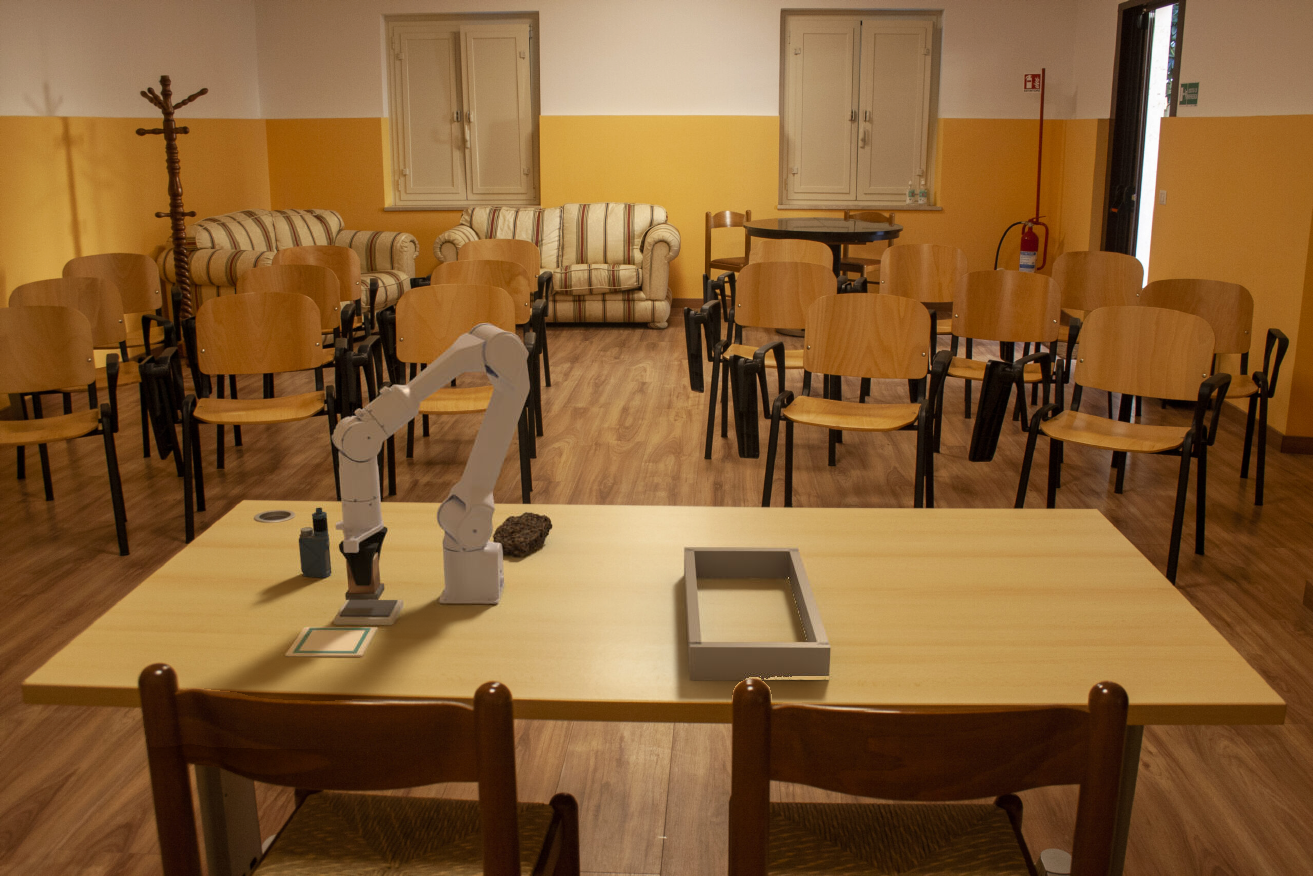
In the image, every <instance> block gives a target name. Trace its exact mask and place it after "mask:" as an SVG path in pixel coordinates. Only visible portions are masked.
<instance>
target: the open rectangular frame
mask: <svg viewBox="0 0 1313 876" xmlns="http://www.w3.org/2000/svg"><path fill="white" fill-rule="evenodd" d="M683 552H684V553H683V557H684V559H683V563H684V564H683V578H684V579H683V581H684V599H685V618H686V619H685V621H686V635H687V636H686V637H687V638H686V639H687V655H688V657H687V658H688V673H689V675H688V677H689V681H743V680H742V679H746V678H749V677H759V678H761V679H763V680H762V681H765V680H764V678H766V679H768V678H770V677H775V676H777V677H782V676H783V677H789V676H790V677H792V676H829V677H830V668H831V667H830V665H831V649H832V648H831V645H830V642H829V638H828V636H827V633H826V630H825V626H824V624H823V620H822V617H821V615H820V612H819V608H818V604H817V602H816V599H815V596H814V593H813V590H812V587H811V583H810V580H809V578H808V575H807V571H806V568H805V565H804V562H803V559H802V557H801V553H800V550H799V547H750V546H749V547H741V546H740V547H738V546H737V547H734V546H733V547H726V546H725V547H718V546H717V547H716V546H715V547H712V546H711V547H709V546H705V547H703V546H701V547H697V546H696V547H695V546H693V547H692V546H688V547H686V546H685V547H684V550H683ZM788 577H789V579H788V582H789V581H790V583H789V585H790V584H791V586H790V589H791V588H792V590H791V592H792V591H793V593H792V595H793V594H794V597H793V599H794V598H795V600H794V602H795V601H796V604H795V606H796V605H797V607H796V609H797V608H798V611H799V614H798V616H799V615H800V618H801V621H800V623H801V622H802V625H803V628H804V631H805V635H806V639H807V642H806V641H795V642H794V641H702V636H701V634H702V633H701V623H700V622H701V621H700V608H699V596H698V595H699V594H698V581H697V579H723V580H724V579H734V580H735V579H737V580H738V579H744V578H746V580H747V579H748V578H788ZM744 580H745V579H744ZM798 611H797V612H798ZM800 618H799V619H800ZM802 625H801V626H802ZM803 628H802V629H803ZM805 635H804V636H805ZM806 639H805V640H806ZM760 676H761V677H760Z"/></svg>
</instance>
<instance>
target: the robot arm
mask: <svg viewBox="0 0 1313 876" xmlns="http://www.w3.org/2000/svg"><path fill="white" fill-rule="evenodd" d="M529 354H530V352H529V351H528V349H527V348H526V345H525V344H524V343H523V341H522V339H521V338H520V337H519V336H518V335H517V334H515V333H514V332H512V331H507V330H504V329H502V328H499V327H498V326H495V325H494V324H492V323H489V322H483V323H478V324H476V325H475V326H473V327H472V328H471V329H470V330H469V331H468V332H465V333H463V334H461V335H460V336H458V338H457V339H456V340H455V341H454V343H452V344H451V346H450V347H448V348H447V349H446V350H445V351H444V352H443V353H442V354H440V355H439V356H438V357H437V358H436V359H434V360H433V361H432V362H431V363H430V364H428V366H426V368H424V369H423V370H422V371H421V372H420V373H419V374H417V375H416V376H415V377H414V378H413V379H411V380H410V381H409V382H408V383H406V384H392V386H390V387H387V386H386V385H384V386H383V387H382V388H381V389H380V390H379V393H380V395H379V396H377V397H376V398H375V399H373V400H372V401H371V402H370V403H368V404H367V405H366V406H365V407H363V408H362V409H361V408H357V409H355V411H354V414H355V415H351V416H346V417H344V418H342V419H341V420H340V421H338V423H337V424H336V426H335V428H334V430H333V434H331V441H332V443H333V445H334V446H335V447H336V449H338V464H339V466H338V474H339V487H340V488H339V490H340V498H341V512H342V520H340V521H337V522H336V524H335V530H341V531H342V534H343V540H342V541H340V543H339V544H338V549H339V552H340V554H341V555H342V556H343V557H344V559H345V561H346V560H347V562H348V564H349V567H350V569H351V572H352V575H353V578H354V581H355V584H356V585H357V586H369V585H370V583H371V579H372V567H373V559H374V555H375V552H378V560H379V561H380V559H381V552H382V547H383V543H384V541H385V537H386V535H387V534H388V527H387V526H384V520H383V517H382V503H381V487H380V474H379V473H380V472H379V465H378V455H379V453H380V452H381V450H382V446H383V443H384V442H385V441H386V440H387V439H389V438H390V437H391V436H392V435H394V434H395V433H397V431H398V430H400V429H402V427H404V426H405V425H407V424H408V423H409V422H410V421H412V420H413V419H414V418H415V417H416V416H418V415H419V413H420V406H421V403H422V402H423V401H424V400H425V399H427V398H429V397H430V396H431V395H433V394H434V393H435V392H437V391H438V390H440V389H441V388H443V387H444V386H446V385H447V384H449V383H450V382H451V381H453V380H454V379H455V378H457V377H458V376H460V375H461V374H463V373H485V375H486V376H487V378H488V379H489V382H490V383H491V385H492V388H493V391H492V392H491V396H490V399H489V402H488V404H487V407H486V410H485V413H484V415H483V419H482V421H481V423H480V426H479V430H478V432H477V435H476V437H475V441H474V443H473V446H472V449H471V451H470V454H469V457H468V460H467V462H466V466H465V468H464V471H463V473H462V477H461V479H460V480H459V481H458V482H457V483H455V484H454V485H453V486H452V487H451V488H450V491H449V494H448V496H447V497H446V498H445V499H444V500H443V501H442V502H441V504H440V505H439V507H438V509H437V511H436V521H437V524H438V526H439V528H441V530H443V531H444V535H443V538H442V556H443V577H444V589H443V591H442V592H441V595H440V597H439V600H438V603H439V604H486V605H487V604H492V605H493V604H498V603H499V602H500V599H501V597H502V593H503V590H504V587H505V576H504V554H503V550H502V544H501V543H495V542H493V541H490V539H491V537H492V536H493V531H494V529H493V528H494V526H493V516H494V513H495V510H496V507H495V499H494V494H493V492H494V489H495V486H496V483H497V481H498V479H499V475H500V473H501V469H502V467H503V465H504V462H505V458H506V456H507V454H508V451H509V448H510V444H511V443H512V440H513V437H514V433H515V431H516V429H517V426H518V423H519V420H520V417H521V415H522V412H523V409H524V406H525V404H526V400H527V398H528V395H529V393H530V389H531V383H530V376H529V370H528V369H529V367H528V361H527V360H528V358H529Z"/></svg>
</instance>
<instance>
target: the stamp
mask: <svg viewBox="0 0 1313 876" xmlns="http://www.w3.org/2000/svg"><path fill="white" fill-rule="evenodd" d="M345 564H346V578H347V587H348V588H347V591H346V592H345V593H344V595H345V601H346V600H380V597H381V596H382V595H383V593H384V591H385V589H386V588H385V583H384V582H382V583H381V576H380V575H381V574H380V573H381V572H380V559H379V560H378V552H375V555H374V559H373V567H372V579H371V583H370V585H369V586H357V585H356V584H355V581H354V578H353V575H352V572H351V569H350V567H349V564H348V562H347V560H346V559H345Z"/></svg>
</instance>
